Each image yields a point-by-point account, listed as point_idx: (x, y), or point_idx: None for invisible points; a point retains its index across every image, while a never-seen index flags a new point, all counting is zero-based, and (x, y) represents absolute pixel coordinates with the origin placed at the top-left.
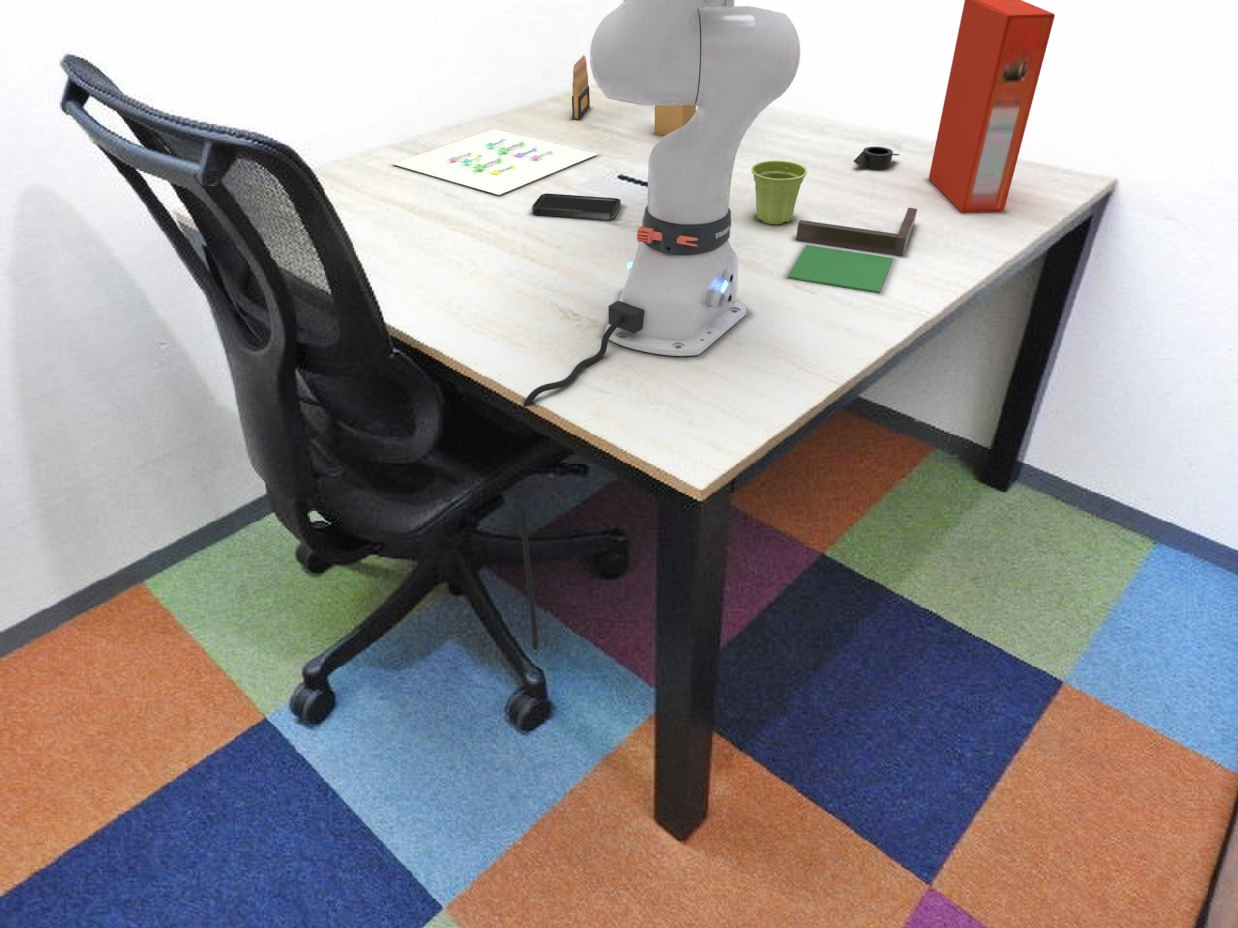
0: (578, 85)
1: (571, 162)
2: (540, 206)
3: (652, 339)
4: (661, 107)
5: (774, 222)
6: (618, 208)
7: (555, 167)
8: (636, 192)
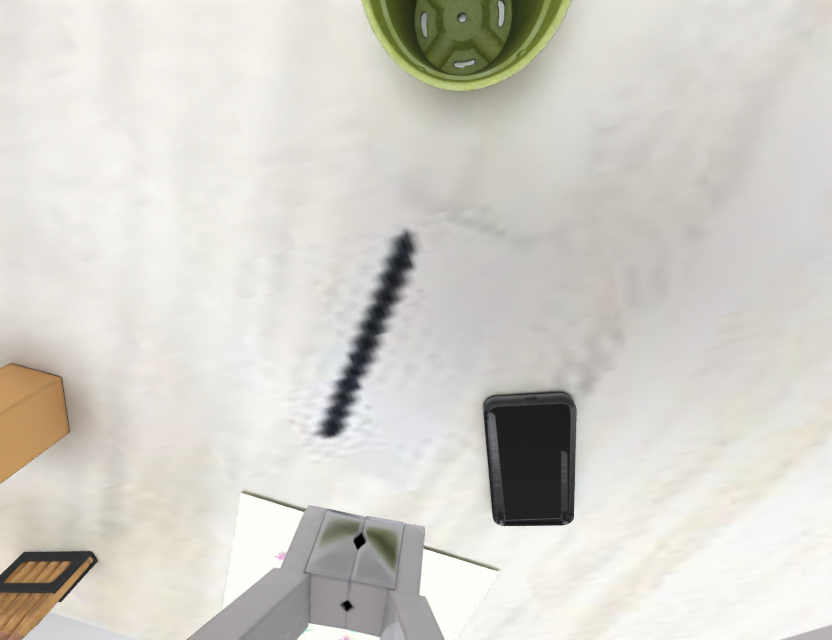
0: (32, 616)
1: None
2: (557, 514)
3: None
4: (9, 461)
5: (513, 3)
6: (518, 397)
7: None
8: (399, 387)
